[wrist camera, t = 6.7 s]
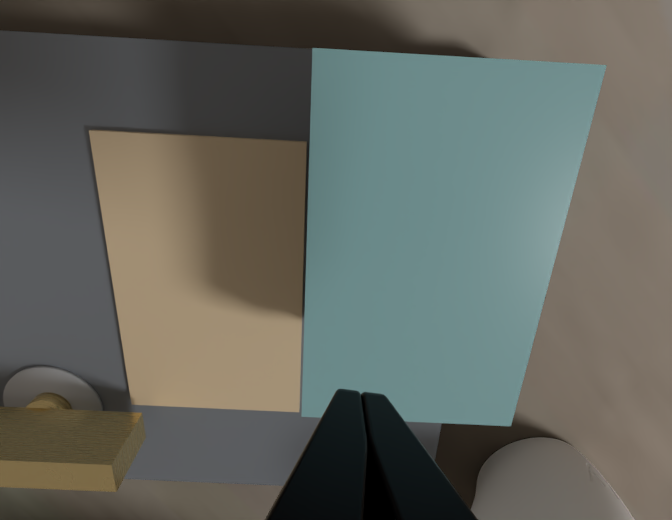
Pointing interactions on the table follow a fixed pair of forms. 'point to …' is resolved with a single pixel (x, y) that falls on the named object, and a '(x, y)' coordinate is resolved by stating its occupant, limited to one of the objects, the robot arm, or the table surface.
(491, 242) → the cover
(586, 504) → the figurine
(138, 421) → the yellow rectangular block
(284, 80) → the panel
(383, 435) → the robot arm
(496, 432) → the table surface
